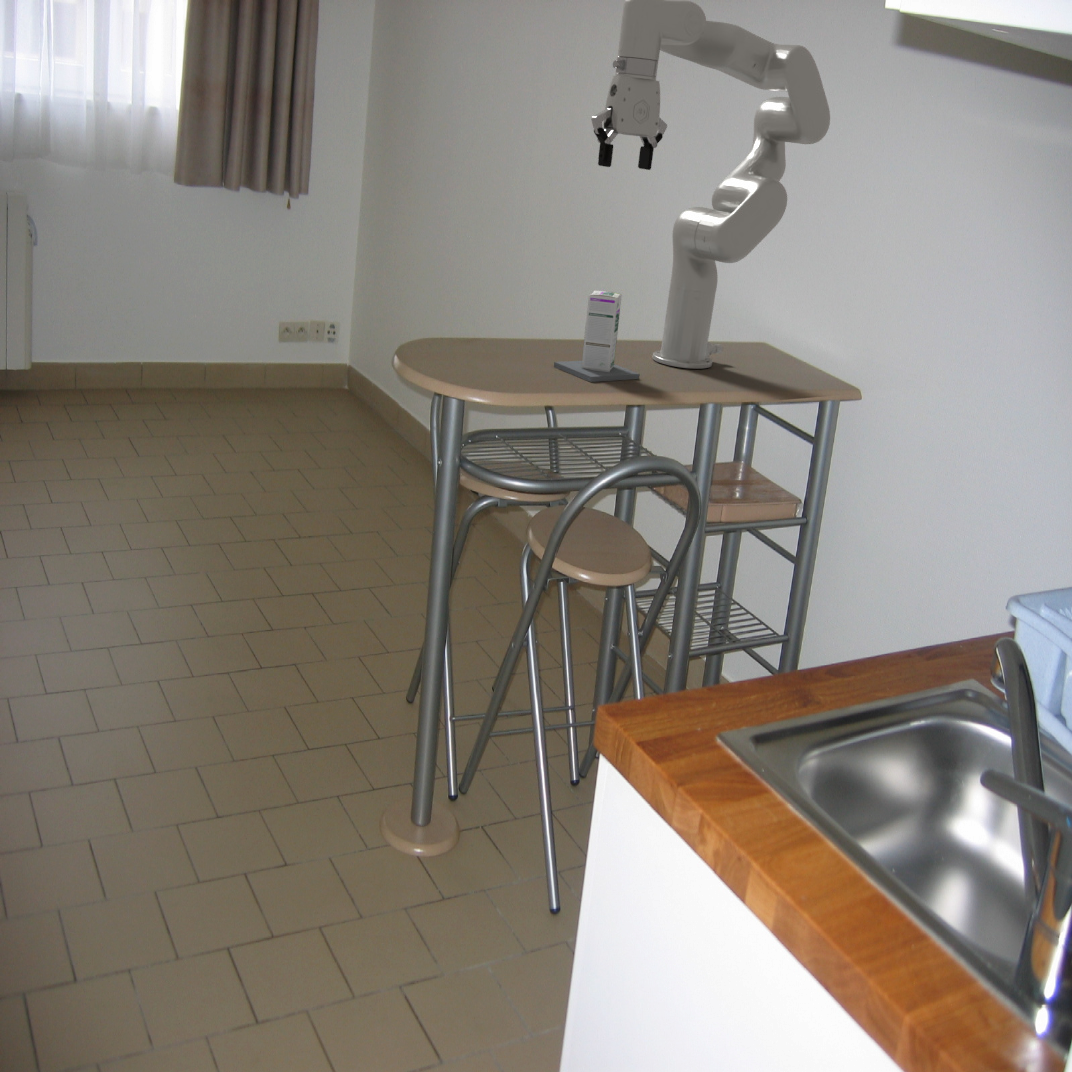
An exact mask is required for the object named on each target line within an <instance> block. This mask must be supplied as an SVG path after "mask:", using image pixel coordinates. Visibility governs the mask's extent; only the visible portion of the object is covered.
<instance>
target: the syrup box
mask: <svg viewBox="0 0 1072 1072" xmlns="http://www.w3.org/2000/svg"><path fill="white" fill-rule="evenodd" d="M621 305H622V293H619V292H615V291H607V290H593V292H591V293H590V294H588V299H587V309H586V318H585V319H586V320H585V328H584V329H585V330H584V336H583V337H584V339H583V348H582V357H581V360H582V368H585V369H590V370H596V371H604V372H610V370H611V369H612V368H613V366H614V364H615V358H616V349H617V341H618V333H619V331H618V330H619V322H620V321H619V320H620V314H621Z"/></svg>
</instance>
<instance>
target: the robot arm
mask: <svg viewBox="0 0 1072 1072" xmlns="http://www.w3.org/2000/svg"><path fill="white" fill-rule="evenodd" d="M706 16H707V15H706V14H705V12H704V9H703V8H702V7H701V6H700V5H699V4H697V3H696V2H693V1H690V0H624V2H623V8H622V16H621V24H620V25H621V26H620V33H619V41H618V42H619V43H618V51H617V58H616V60H613V62H612V68H613V69H615V75H612V78H611V81H610V85H609V88H608V93H607V97H606V101H605V102H606V103H605V108H604V110H602V111H600V112H598V113H596V114H594V115H593V116H591V124H592V127H593V133H594V135H595V137H596V138H597V142H598V143H599V149H598V158H597V159H598V163H597V165H598V166H599V167H606V168H610V167H612V162H613V161H612V160H613V152H614V144H612V142H613V141H614V139H616V137H617V136H618V135H619V134H620V135H625V136H634V137H635V136H636V137H639V138H640V140H641V143H642V144H643V145H641V146H640V148H639V155H638V164H637V168H639V169H640V170H647V171H651V170H652V164H653V156H654V149H656V148H657V147H658V144H659V142H661V140H662V139H663V137H664V134H665V132H666V131H667V129H668V124H667V123H666V122H665V121H664V120H663V119H662V118H661V117H660V114H661V113H660V112H661V111H660V110H661V86H660V80H657V75H658V65H659V61H660V60H659V59H660V51H661V52H663V53H665V54H668V55H671V56H673V57H677V58H680V59H682V60H686V61H688V62H689V61H690V62H692V63H694V64H698V65H700V66H703V67H706V68H709V69H713V70H717V71H719V72H721V73H724V74H725V75H728V76H730V77H732V78H734V79H736V80H739V81H741V82H743V83H745V84H748V85H749V86H752V87H754V88H757V89H760V90H763V91H775V92H785V93H787V95H788V96H775V97H774V96H773V97H769V98H767V99H765V100H764V101H763V102H761V103H760V104H759V106H758V107H757V109H756V111H755V114H754V118H753V137H752V138H753V139H752V145H751V148H750V151H749V152H748V154H747V155H746V156H745V157H744V158H743V159H742V160H741V162H740V163H738V164H737V166H736V167H734V169H732V170H731V171H730V173H729V174H727V176H725V178H724V179H722V180H721V182H720V183H718V185H717V187H716V188H715V189H714V191H713V194H712V197H711V205H712V206H711V207H712V208H708V207H703V206H701V207H700V206H695V207H690V208H687V209H685V210H683V211H682V212H681V213H680V214H679V215H678V216H677V217H676V219H675V221H674V223H673V224H674V225H673V227H672V237H671V238H672V271H671V277H670V278H671V279H670V285H669V290H668V296H667V297H668V298H667V304H666V310H665V311H666V312H665V319H664V326H663V331H662V339H661V340H662V341H661V345H660V347H661V348H660V350H655V351H654V352H652V357H651V358H652V359H653V360H654V361H655V362H657V363H659V364H663V365H666V366H670V367H677V368H680V369H681V368H683V369H695V370H696V369H697V370H698V369H702V370H703V369H707V368H711V367H712V366H713V360H712V359H711V358H710V355H712V354H722V353H723V350H724V347H723V345H722V344H721V343H718V344H717V343H714V344H712V342H709V338H710V337H709V336H710V331H711V324H712V319H713V317H712V316H713V311H714V305H715V299H716V294H717V293H716V292H717V287H718V270H717V269H718V268H717V265H716V262H721V263H725V264H734V263H738V262H740V261H741V260H743V259H745V258H746V257H747V256H748V255H749V254H751V252H752V251H753V250H754V249H756V248H757V246H758V245H759V244H760V243H761V242H762V241H763V240H764V239H765V238H766V237H767V236H768V235H769V234H770V232H772V231H773V229H775V228H776V226H778V224H779V223H780V222H781V220H782V218H783V216H784V215H785V212H786V210H787V209H786V208H787V205H788V194H787V193H788V192H787V189H786V188H785V186H784V185H783V183H781V182H780V180H781V179H783V176H784V174H785V173H786V172H785V171H786V163H787V162H786V143H791V144H792V143H793V144H802V145H813V144H817V143H819V142H820V141H822V140H823V138H824V137H826V135H827V133H828V132H829V131H828V130H829V129H830V124H831V114H830V113H831V111H830V107H829V103H828V99H827V96H826V92H825V88H824V85H823V81H822V78H821V75H820V71H819V69H818V66H817V63H816V61H815V59H814V57H813V55H812V53H811V52H810V51H809V49H807V48H806V47H805V46H803V45H799V44H779V43H774V42H771V41H769V40H767V39H765V38H764V37H763V38H762V37H761V36H759V35H757V34H755V33H752V32H751V31H749V30H747V29H745V28H743V27H741V26H739V25H736V24H733V23H728V22H724V21H713V20H707V18H706Z"/></svg>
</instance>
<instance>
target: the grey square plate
mask: <svg viewBox="0 0 1072 1072" xmlns="http://www.w3.org/2000/svg"><path fill="white" fill-rule="evenodd" d="M553 367H554V368H555V369H558V370H560V371H562V372H565V373H568V374H569V375H573V376H575V377H577V378H580V379H582V380H584V381H587V382H590V383H595V382H611V381H612V382H613V381H626V380H640V373H639V372H636V371H633V370H631V369H629V368H626V367H623V366H620V365H618V364H615V363H614V366H613V368H612V369H611V370H610V372H604V371H596V370H590V369H585V368H582V359H581V360H566V361H565V360H564V361H562V360H561V361H554V363H553Z"/></svg>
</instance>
